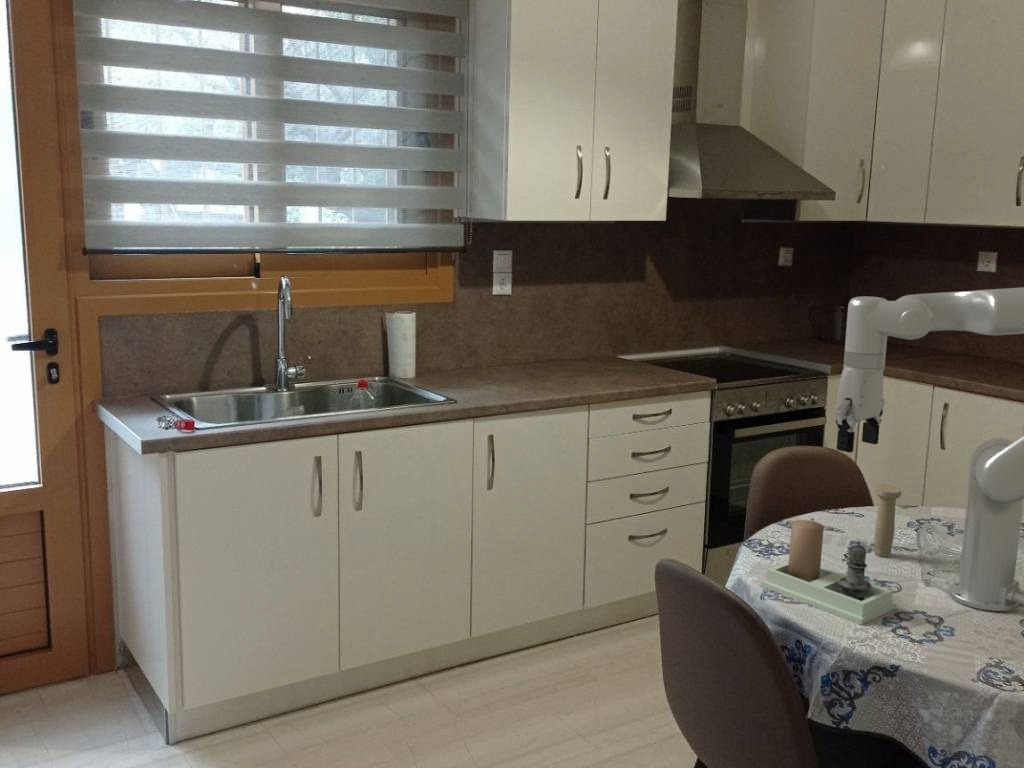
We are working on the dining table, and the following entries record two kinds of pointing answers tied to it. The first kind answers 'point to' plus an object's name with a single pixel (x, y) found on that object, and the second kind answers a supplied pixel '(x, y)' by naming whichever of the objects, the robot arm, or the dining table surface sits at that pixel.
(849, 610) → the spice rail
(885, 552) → the handle
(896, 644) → the dining table surface
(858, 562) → the salt shaker
